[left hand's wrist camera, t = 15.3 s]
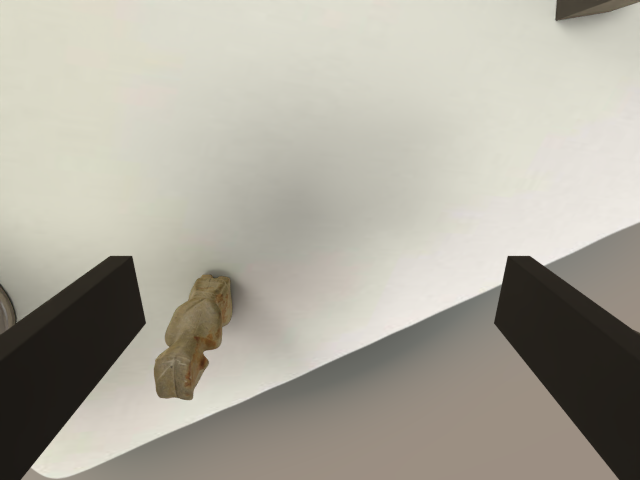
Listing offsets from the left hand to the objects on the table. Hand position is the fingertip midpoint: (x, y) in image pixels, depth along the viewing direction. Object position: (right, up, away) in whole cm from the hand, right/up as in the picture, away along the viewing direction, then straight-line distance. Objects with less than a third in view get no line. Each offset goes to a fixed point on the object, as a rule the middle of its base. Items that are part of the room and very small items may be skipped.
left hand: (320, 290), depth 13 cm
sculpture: (-13, -5, +33) cm, 36 cm away
